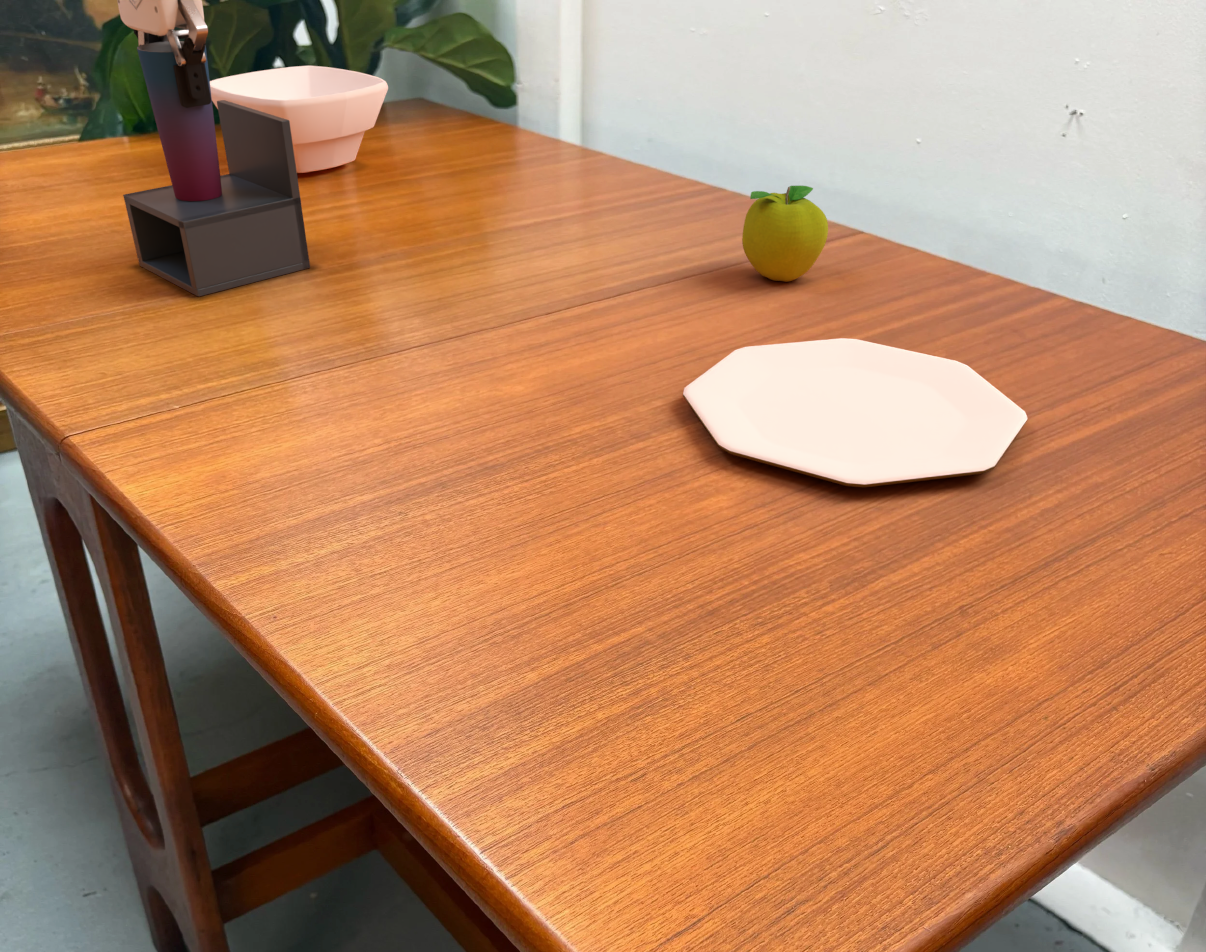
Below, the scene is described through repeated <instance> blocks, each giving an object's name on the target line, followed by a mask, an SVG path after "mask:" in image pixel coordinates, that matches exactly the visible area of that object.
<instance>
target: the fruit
mask: <svg viewBox="0 0 1206 952" xmlns="http://www.w3.org/2000/svg"><path fill="white" fill-rule="evenodd" d="M813 190H814V187H811V186H807V185H790V186H788V187H787V189H786V192H784V193H778V192H767V191H763V190H754V191H751V192H750V200H755V201H753V203H752V204H751V205H750V207H749V208H748V210H747V212H746V214H745V218H744V223H743V229H742V235H741V237H742V238H741V242H742V243H741V244H742V248H743V252H744V254H745V256H746V258H747V259H748V262H749V263H750V264H751V266H752V268H754V270H755V271H756V272H757V273H758V275H759V274H760V275H761V276H762V277H765V278H768V279H769V280H772V281H774V282H775V281H776V282H784V283H785V282H787V283H788V282H791V281H794V280H797V279H799V278H801V277H802V276H804V275H805V274H807V272H808V271H809V270H810V269H812V267H813V265H814V264H815V263H816V261H818V259H819V257H820V255H821V254H822V252H823V250H824V249H825V246H826V243H827V240H828V235H829V222H828V218H827V216H826V214H825V212H824V211H823V210H822V209H821V208H820V207H819V206H818V205H816V204H815V203H814V202H813V201H811V200H810V199H808V198H805V197H806V196H808V195H809V194H810V193H812V191H813Z"/></svg>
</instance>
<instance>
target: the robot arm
mask: <svg viewBox="0 0 1206 952" xmlns="http://www.w3.org/2000/svg"><path fill="white" fill-rule="evenodd" d="M116 1H117V7H118V12H119V16H120V20H121V21H122V23H123V24H124V25H125V26H127V27H128V28H130V29H132V30H133V31H132V32H133V34H134V35H135V37H136V39H137V41H138V46H140V45H144V44H149V43H155V42H168V41H169V42H170V45H171V48H172V51H173V54H174V57H175V59H176V62H177V64H178V65H173V67H174V73H175V78H176V83H177V88H178V93H179V98H180V103H181V106H183V107H185V108H189V107H195V106H202V105H208V104H210V103H211V96H210V90H209V85H208V79H207V74H206V68H205V62H206V56H205V53H204V50H205V46H206V47H207V43H206V42H207V39H208V34H209V28H208V25H207V23H206V22H205V14H204V6H203V0H116ZM176 28H178V29H176ZM182 39H184V44H183V47H181V44H180V41H181V40H182Z"/></svg>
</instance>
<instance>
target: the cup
mask: <svg viewBox="0 0 1206 952" xmlns="http://www.w3.org/2000/svg"><path fill="white" fill-rule="evenodd" d="M179 41H180V44H181V47H183V44H184V41H183V40H179ZM136 51H137V54H138V58H139V62H140V67H141V70H142V74H143V78H144V82H145V85H146V89H147V93H148V97H149V101H150V104H151V109H152V113H153V116H154V121H155V123H156V128H157V132H158V136H159V139H160V143H161V147H162V151H163V155H164V159H165V164H166V166H167V169H168V174H169V178H170V179H169V180H170V182H171V185H172V186H173V190H174V194H175V197H176V198H177V199H179V200H184V201H205V200H211V199H215V198H217V197H220V196H221V195H222V188H221V179H220V176H221V171H220V162H219V154H218V153H219V152H218V145H217V144H218V143H217V134H216V125H215V115H214V108H213V101H212V97H211V103H210V104H208V105H202V106H195V107H189V108H185V107H183V106H181V103H180V98H179V93H178V88H177V83H176V78H175V73H174V67H173V65H178V64H177V62H176V59H175V57H174V54H173V51H172V48H171V45H170V42H169V40H168V42H155V43H149V44H144V45H140V46H139V45H138V46H137V47H136ZM204 53H205V56H206V62H205V68H206V74H207V79H208V85H209V90H210V96H211V88H210V81H211V80H210V72H209V71H210V70H209V61H208V54H207V45H206V46H205V50H204Z"/></svg>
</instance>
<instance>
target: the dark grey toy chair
mask: <svg viewBox="0 0 1206 952" xmlns="http://www.w3.org/2000/svg"><path fill="white" fill-rule="evenodd" d="M217 106H218V109H217V111H218V117H219V123H220V127H221V134H222V138H223V146H224V151H225V156H226V162H227V168H228V169H227V170H228V173H227V174H220V179H221V188H222V195H221V196H220V197H217V198H215V199H211V200H205V201H184V200H179V199H177V198H176V197H175V194H174V190H173V186H172V184H171V185H165V186H160V187H156V188H149V189H144V190H140V191H135V192H129V193H125V194H123V195H122V196H123V201H124V205H125V208H126V213H127V218H128V222H129V226H130V231H131V235H132V239H133V243H134V247H135V252H136V256H137V257H136V258H137V261H138V265H139V266H140V268H143V269H145V270H147V271H148V272H151V273H152V274H155V275H157V276H158V277H160V278H162V279H163V280H166V281H167V282H170V283H171V284H173V285H175V286H177V287H179V288H181V289H182V290H185V291H187V292H188V293H190V294H193V295H194V296H196V297H204V296H206V295H211V294H214V293H219V292H222V291H226V290H230V289H234V288H237V287H242V286H246V285H249V284H253V283H256V282H261V281H265V280H269V279H272V278H276V277H277V278H278V277H280V276H284V275H288V274H292V273H296V272H299V271H304V270H307V269H310V268H311V262H310V256H309V249H308V241H307V234H306V228H305V220H304V214H303V205H302V198H301V193H300V186H299V177H298V173H297V171H296V164H295V157H294V150H293V143H292V136H291V129H290V122H289V120H287V119H284V118H280V117H277V116H274V115H271V114H268V113H264V112H261V111H258V110H255V109H251V108H248V107H245V106H242V105H239V104H235V103H232V102H229V101H226V100H220V101H217Z"/></svg>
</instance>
